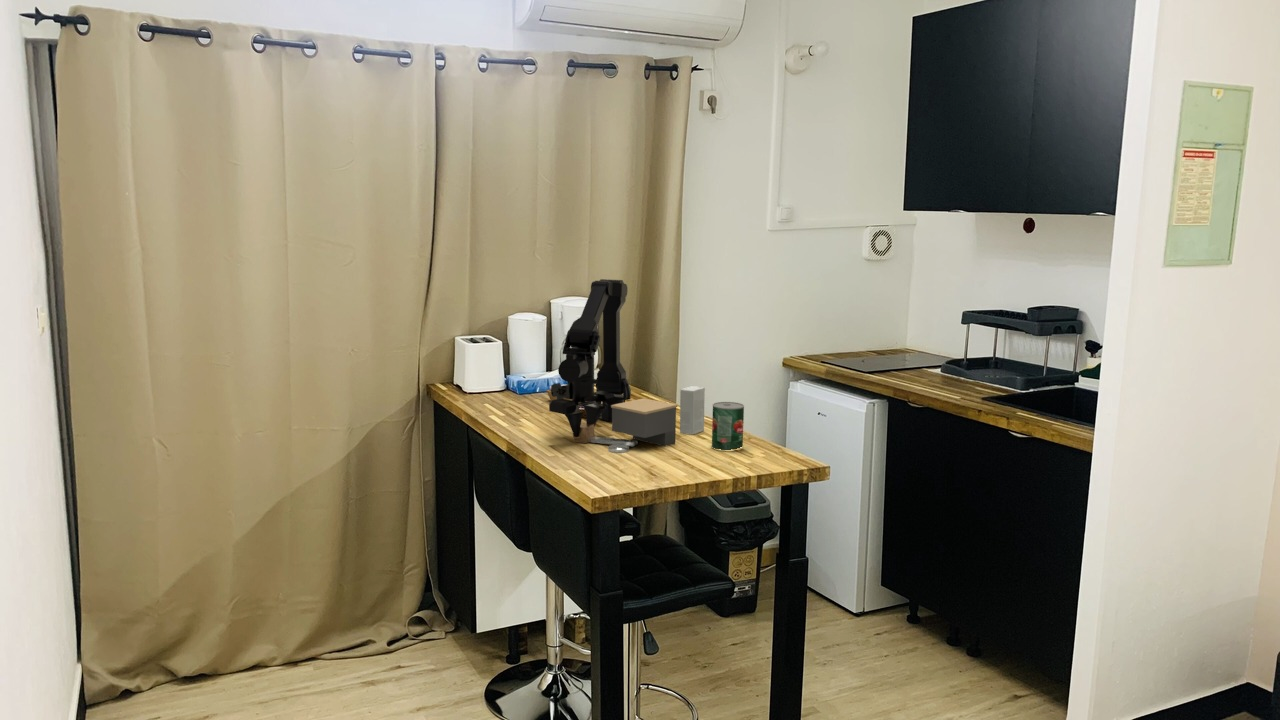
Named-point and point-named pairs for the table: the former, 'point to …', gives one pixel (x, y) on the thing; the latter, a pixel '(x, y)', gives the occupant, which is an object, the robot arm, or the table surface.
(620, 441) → the brown block with rod
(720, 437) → the canned tomato
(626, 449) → the token
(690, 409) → the skincare box
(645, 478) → the table surface
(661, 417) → the cabinet
